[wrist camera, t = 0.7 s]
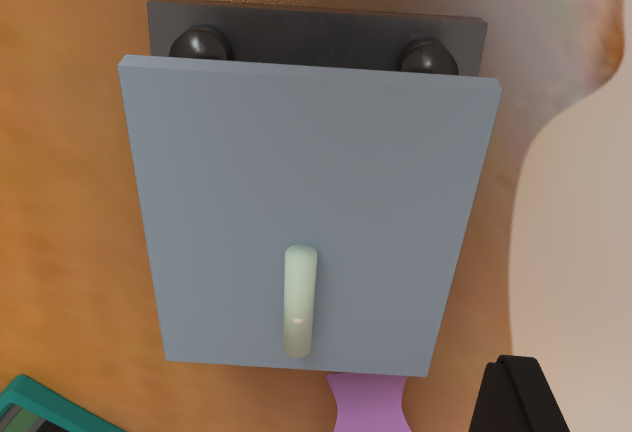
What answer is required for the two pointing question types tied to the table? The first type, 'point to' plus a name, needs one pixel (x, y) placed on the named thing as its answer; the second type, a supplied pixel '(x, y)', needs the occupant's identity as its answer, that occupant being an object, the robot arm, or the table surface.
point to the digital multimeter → (44, 411)
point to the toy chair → (368, 402)
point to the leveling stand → (316, 36)
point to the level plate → (303, 207)
